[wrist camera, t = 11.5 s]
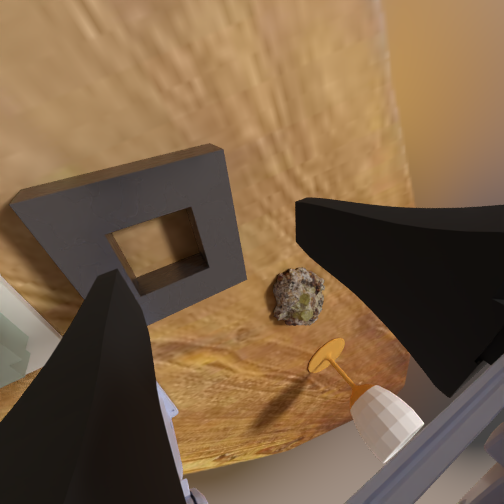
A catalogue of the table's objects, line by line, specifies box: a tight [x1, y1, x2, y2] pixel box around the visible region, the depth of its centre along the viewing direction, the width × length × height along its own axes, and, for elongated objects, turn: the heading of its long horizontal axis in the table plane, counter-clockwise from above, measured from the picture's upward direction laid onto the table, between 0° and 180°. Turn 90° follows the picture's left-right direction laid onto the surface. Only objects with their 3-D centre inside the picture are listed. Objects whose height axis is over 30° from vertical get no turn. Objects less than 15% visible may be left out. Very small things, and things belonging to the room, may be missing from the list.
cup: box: [308, 338, 424, 463], centre depth 41 cm, size 9×9×16 cm
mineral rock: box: [273, 267, 325, 326], centre depth 31 cm, size 11×4×8 cm
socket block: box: [9, 143, 247, 326], centre depth 18 cm, size 12×12×2 cm
